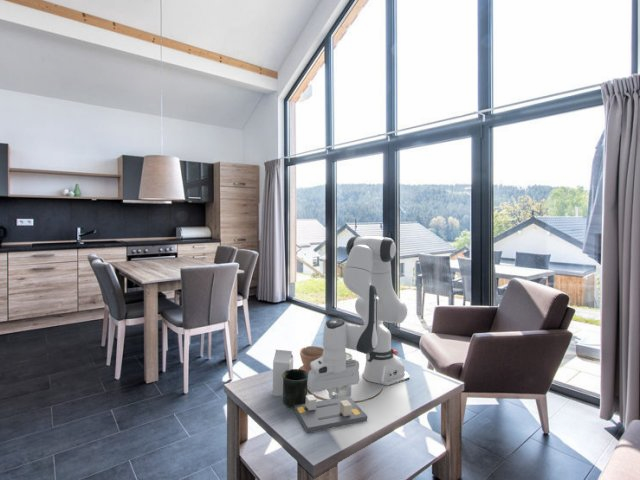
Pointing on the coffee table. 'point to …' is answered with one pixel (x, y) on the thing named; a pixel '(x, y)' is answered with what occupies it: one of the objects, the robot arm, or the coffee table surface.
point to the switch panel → (328, 415)
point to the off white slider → (310, 402)
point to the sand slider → (345, 407)
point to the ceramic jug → (310, 356)
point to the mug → (294, 387)
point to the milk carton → (281, 369)
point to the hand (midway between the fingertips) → (333, 398)
